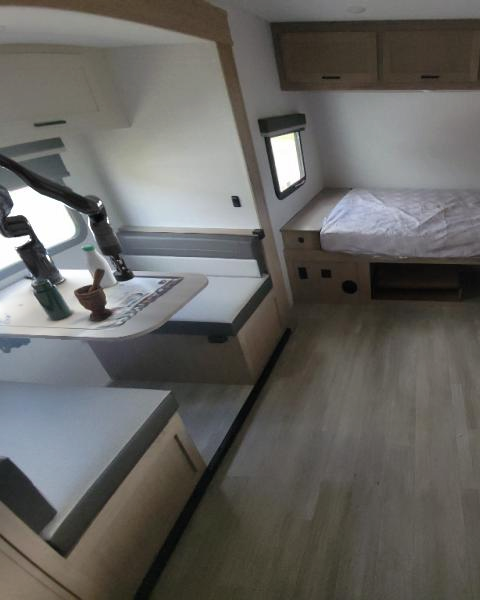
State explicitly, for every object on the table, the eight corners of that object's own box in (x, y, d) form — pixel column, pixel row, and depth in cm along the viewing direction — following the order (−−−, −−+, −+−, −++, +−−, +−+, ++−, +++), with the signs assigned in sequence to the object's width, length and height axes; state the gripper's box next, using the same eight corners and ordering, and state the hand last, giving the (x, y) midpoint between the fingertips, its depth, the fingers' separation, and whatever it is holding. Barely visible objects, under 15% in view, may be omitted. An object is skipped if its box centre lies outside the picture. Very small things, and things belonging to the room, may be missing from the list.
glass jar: (45, 318, 137) (22, 285, 128) (63, 309, 142) (43, 277, 134) (58, 321, 135) (36, 287, 127) (76, 312, 141) (56, 279, 133)
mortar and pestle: (111, 305, 146) (89, 264, 135) (126, 308, 144) (106, 267, 134) (84, 319, 137) (58, 277, 126) (100, 323, 135) (76, 280, 124)
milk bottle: (121, 281, 165) (102, 243, 154) (108, 288, 158) (88, 250, 147) (106, 279, 165) (87, 242, 155) (93, 287, 159) (72, 249, 148)
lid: (129, 273, 157) (126, 267, 155) (137, 277, 154) (134, 270, 152) (112, 279, 152) (109, 272, 150) (120, 283, 149) (117, 276, 147)
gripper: (124, 244, 142) (139, 278, 151) (113, 236, 150) (128, 269, 159) (103, 249, 137) (120, 284, 146) (93, 241, 145) (109, 274, 154)
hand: (124, 276), depth 152 cm, fingers closed on lid, 7 cm apart
